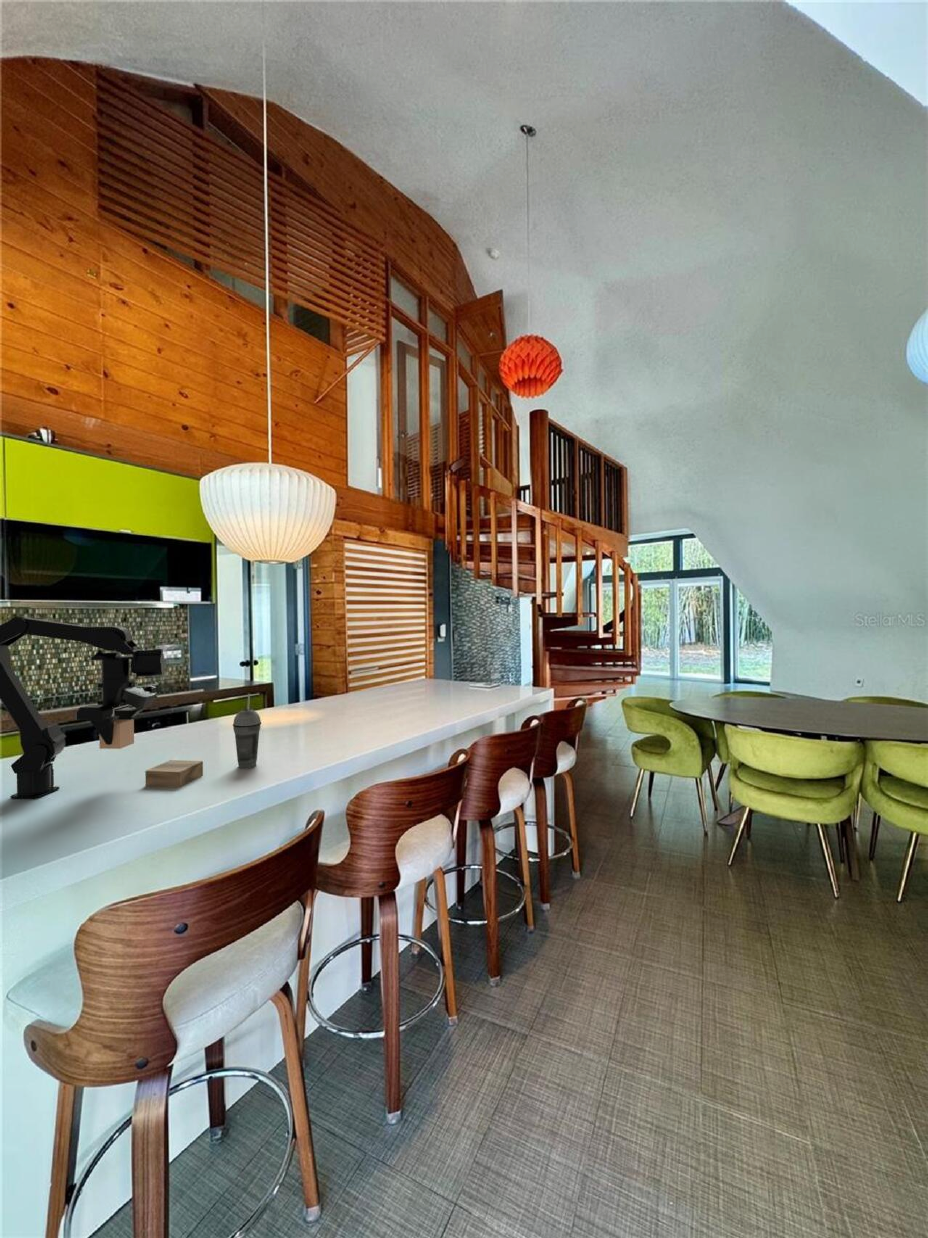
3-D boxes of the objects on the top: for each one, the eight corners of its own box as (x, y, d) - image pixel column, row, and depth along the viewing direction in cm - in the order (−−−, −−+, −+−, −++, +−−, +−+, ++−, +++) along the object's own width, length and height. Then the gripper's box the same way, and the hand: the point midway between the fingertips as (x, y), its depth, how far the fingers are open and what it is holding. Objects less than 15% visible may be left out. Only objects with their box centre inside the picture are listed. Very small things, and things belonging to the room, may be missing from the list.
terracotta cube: (120, 748, 122) (119, 723, 122) (99, 748, 122) (99, 723, 122) (134, 743, 127) (133, 719, 127) (114, 743, 127) (113, 719, 127)
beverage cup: (253, 760, 145) (252, 690, 145) (266, 765, 141) (266, 693, 140) (227, 766, 140) (227, 693, 139) (241, 771, 135) (240, 696, 135)
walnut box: (180, 788, 123) (180, 772, 123) (145, 787, 124) (145, 770, 124) (202, 776, 132) (202, 761, 132) (170, 775, 133) (170, 760, 133)
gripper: (122, 683, 115) (123, 752, 115) (171, 673, 133) (172, 732, 134) (73, 683, 115) (74, 752, 115) (129, 673, 134) (130, 732, 134)
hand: (116, 741), depth 124 cm, fingers closed on terracotta cube, 5 cm apart
